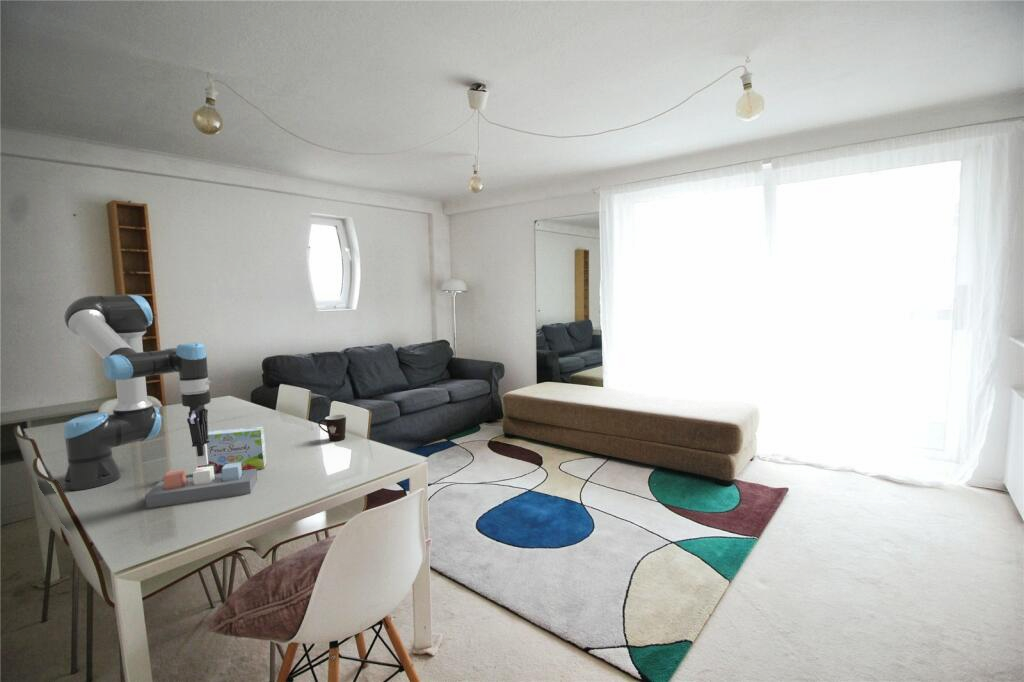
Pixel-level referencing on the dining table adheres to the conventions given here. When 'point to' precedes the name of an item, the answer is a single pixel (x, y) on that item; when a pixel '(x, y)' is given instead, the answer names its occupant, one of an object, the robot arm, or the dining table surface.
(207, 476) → the ivory key
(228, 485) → the console
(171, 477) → the brick key
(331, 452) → the dining table surface
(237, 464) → the slate key
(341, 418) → the coffee mug
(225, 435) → the snack box
